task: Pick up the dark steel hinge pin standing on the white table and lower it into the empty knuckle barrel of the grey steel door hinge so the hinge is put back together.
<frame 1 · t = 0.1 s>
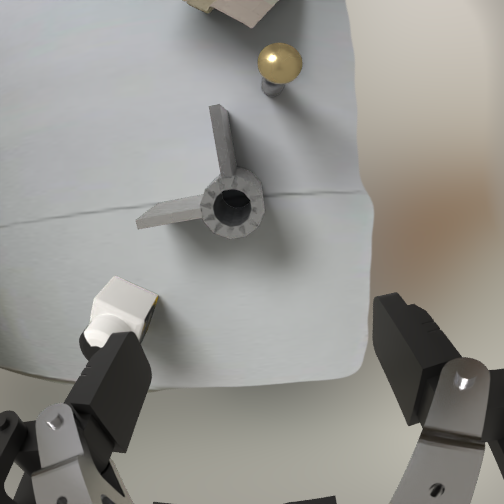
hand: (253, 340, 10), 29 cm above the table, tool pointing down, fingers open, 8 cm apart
pin: (271, 86, 33), on the table
medicine bottle: (131, 303, 43), on the table
hinge: (237, 192, 37), on the table
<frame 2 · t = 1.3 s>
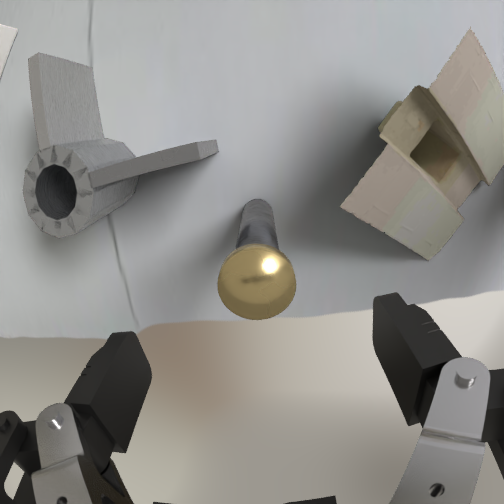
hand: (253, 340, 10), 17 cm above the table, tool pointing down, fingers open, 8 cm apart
pin: (257, 213, 26), on the table
beige folded piece: (428, 156, 24), on the table
hinge: (107, 173, 24), on the table
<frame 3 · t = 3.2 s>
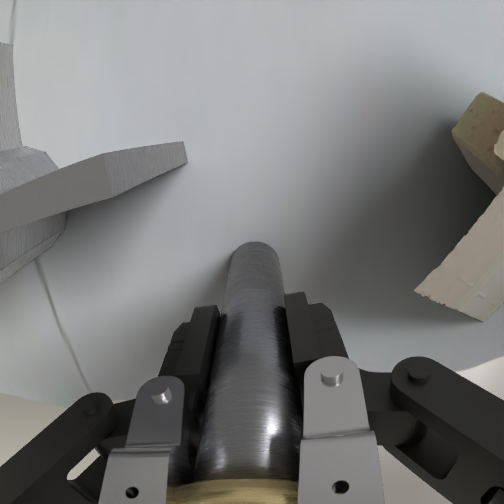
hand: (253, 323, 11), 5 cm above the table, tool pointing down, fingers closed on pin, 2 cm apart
pin: (254, 264, 16), on the table, touching gripper
beige folded piece: (502, 179, 14), on the table
hinge: (28, 200, 14), on the table
when the fingers open (9 cm above the table, at t = 7.1 s): pin drops 3 cm, resting in hinge.
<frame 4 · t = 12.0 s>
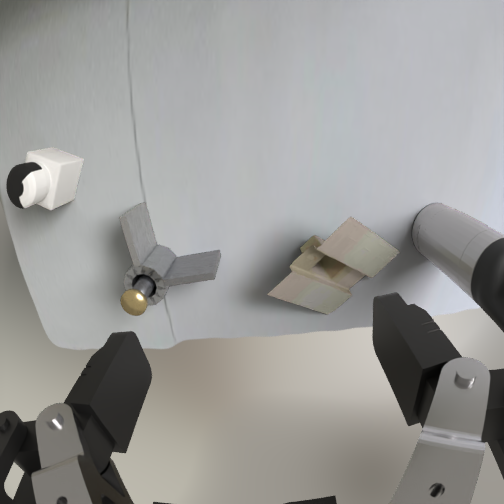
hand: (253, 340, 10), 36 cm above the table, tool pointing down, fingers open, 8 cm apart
pin: (160, 263, 48), resting in hinge
beige folded piece: (333, 259, 48), on the table
medicine bottle: (63, 173, 43), on the table
hinge: (159, 263, 48), on the table
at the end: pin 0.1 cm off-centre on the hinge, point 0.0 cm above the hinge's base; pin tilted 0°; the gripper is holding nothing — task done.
